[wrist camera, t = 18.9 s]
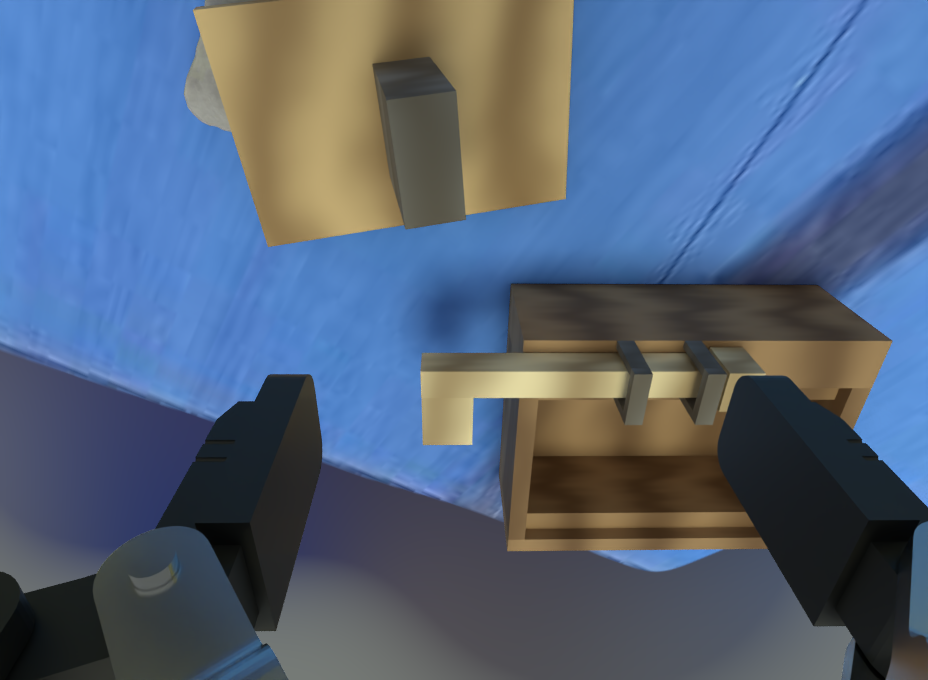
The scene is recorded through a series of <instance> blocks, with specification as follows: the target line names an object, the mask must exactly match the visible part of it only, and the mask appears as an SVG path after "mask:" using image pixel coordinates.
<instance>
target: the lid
mask: <svg viewBox="0 0 928 680" xmlns="http://www.w3.org/2000/svg"><path fill="white" fill-rule="evenodd" d="M573 8H574V0H256V1H247V2H238V3H229V4H220V5H211V6H201V7H196V8H195V9H194V10H193V12H194V15H195V18H196V21H197V25H198V28H199V31H200V34H201V37H202V40H203V44H204V47H205V50H206V53H207V56H208V59H209V62H210V66H211V69H212V72H213V75H214V78H215V81H216V84H217V88H218V91H219V94H220V97H221V100H222V103H223V106H224V110H225V113H226V116H227V119H228V122H229V125H230V128H231V132H232V135H233V138H234V141H235V144H236V147H237V150H238V154H239V157H240V160H241V163H242V166H243V169H244V172H245V176H246V179H247V182H248V185H249V188H250V191H251V194H252V198H253V201H254V204H255V207H256V210H257V213H258V216H259V220H260V223H261V226H262V229H263V232H264V235H265V238H266V242H267V245H268V247H271V246H277V245H283V244H289V243H296V242H302V241H308V240H314V239H320V238H327V237H333V236H339V235H345V234H351V233H357V232H364V231H370V230H376V229H382V228H388V227H395V226H401V225H404V226H405V229H412V228H418V227H424V226H430V225H436V224H442V223H449V222H455V221H461V220H466V215H469V214H475V213H481V212H487V211H494V210H500V209H506V208H512V207H518V206H525V205H531V204H537V203H543V202H549V201H556V200H562V199H566V177H567V153H568V129H569V105H570V81H571V57H572V32H573Z"/></svg>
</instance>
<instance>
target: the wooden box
mask: <svg viewBox="0 0 928 680" xmlns="http://www.w3.org/2000/svg"><path fill="white" fill-rule="evenodd" d="M891 343H892V340H891V339H889V338H888V337H886V336H885V335H884V334H882V333H881V332H880V331H878V330H877V329H876V328H874V327H873V326H872V325H870V324H869V323H868V322H866V321H865V320H864V319H862V318H861V317H860V316H858V315H857V314H856V313H854V312H853V311H852V310H850V309H849V308H848V307H846V306H845V305H844V304H842V303H841V302H840V301H838V300H837V299H836V298H834V297H833V296H832V295H830V294H829V293H828V292H826V291H825V290H824V289H822V288H821V287H820V286H818V285H700V284H511V289H510V305H509V322H508V338H507V353H619V355H620V357H621V359H622V361H623V363H624V365H625V367H626V369H627V371H628V373H629V375H630V378H629V384H628V389H627V394H626V398H504V403H503V419H502V435H501V452H500V468H499V479H500V488H501V497H502V506H503V516H504V525H505V534H506V543H507V551H552V550H553V551H559V550H560V551H561V550H562V551H565V550H678V549H768V548H767V547H766V545H765V543H764V542H763V540H762V538H761V536H760V535H759V533H758V531H757V530H756V528H755V526H754V525H753V523H752V521H751V520H750V518H749V516H748V515H747V513H746V511H745V509H744V508H743V506H742V504H741V503H740V501H739V499H738V498H737V496H736V494H735V493H734V491H733V489H732V487H731V486H730V484H729V482H728V481H727V479H726V477H725V476H724V474H723V472H722V470H721V467H720V464H719V460H718V452H717V447H718V439H719V436H720V432H721V429H722V426H723V422H724V419H725V416H726V413H727V412H719V411H718V410H717V408H718V404H719V401H720V398H721V394H722V391H723V387H724V384H725V380H726V377H727V373H726V372H725V371H724V370H723V368H722V367H721V366H720V364H719V363H718V362H717V360H716V359H715V358H714V356H713V355H712V354H711V353H710V351H709V349H710V347H743V348H744V349H745V350H746V351H747V352H748V353H749V355H750V356H751V357H752V358H753V359H754V360H755V361H756V363H757V364H758V365H759V366H760V367H761V368H762V369H763V371H764V372H765V373H766V375H783V376H787V377H788V378H790V379H791V380H792V381H793V382H794V383H795V385H796V386H797V387H798V388H799V389H800V390H801V391H802V392H803V393H804V394H805V395H806V396H807V398H808V399H809V400H810V401H811V402H816V403H818V404H819V405H821V406H823V407H824V408H826V409H827V410H829V411H831V412H832V413H834V414H835V415H837V416H839V417H840V418H842V419H843V420H844V421H845V422H846V423H847V424H848V425H849V426H850V427H851V428H852V429H853V428H854V426H855V424H856V421H857V419H858V417H859V415H860V412H861V410H862V408H863V406H864V404H865V401H866V399H867V397H868V395H869V392H870V390H871V388H872V386H873V384H874V381H875V379H876V377H877V375H878V372H879V370H880V368H881V366H882V363H883V361H884V359H885V357H886V355H887V352H888V350H889V348H890V346H891ZM641 353H687V355H688V356H689V357H690V359H691V360H692V362H693V363H694V365H695V366H696V368H697V369H698V370H699V372H700V373H701V375H702V379H701V383H700V387H699V391H698V394H697V398H648V396H649V391H650V387H651V382H652V378H653V373H652V372H651V370H650V368H649V366H648V364H647V363H646V361H645V359H644V357H643V355H642V354H641Z"/></svg>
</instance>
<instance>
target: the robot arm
mask: <svg viewBox="0 0 928 680" xmlns="http://www.w3.org/2000/svg"><path fill="white" fill-rule="evenodd" d="M717 452H718V460H719V464H720V467H721V470H722V472H723V474H724V476H725V477H726V479H727V481H728V482H729V484H730V486H731V487H732V489H733V491H734V493H735V494H736V496H737V498H738V499H739V501H740V503H741V504H742V506H743V508H744V509H745V511H746V513H747V515H748V516H749V518H750V520H751V521H752V523H753V525H754V526H755V528H756V530H757V531H758V533H759V535H760V536H761V538H762V540H763V542H764V543H765V545H766V547H767V548H768V550H769V552H770V553H771V555H772V557H773V558H774V560H775V562H776V563H777V565H778V567H779V569H780V570H781V572H782V574H783V575H784V577H785V579H786V580H787V582H788V584H789V585H790V587H791V588H792V590H793V592H794V594H795V596H796V597H797V599H798V600H799V602H800V604H801V605H802V607H803V609H804V611H805V612H806V614H807V616H808V617H809V619H810V621H811V623H812V624H813V626H846V627H847V628H848V630H849V632H850V633H851V635H852V636H853V637H852V639H851V641H850V643H849V644H848V646H847V648H846V652H845V658H844V664H843V672H842V678H841V680H928V507H927V506H926V505H925V504H924V503H923V502H922V501H921V500H920V499H919V498H918V497H917V496H916V495H915V494H914V493H913V492H912V491H911V490H910V489H909V487H908V486H907V485H906V484H905V483H904V482H903V481H902V480H901V479H900V478H899V477H898V476H897V475H896V474H895V473H894V472H893V471H892V470H891V469H890V468H889V467H888V466H887V465H886V464H885V463H884V462H883V460H878V455H877V454H876V453H875V452H874V451H873V450H872V449H871V448H870V447H869V446H868V445H867V444H866V443H862V439H861V438H860V437H859V436H858V434H857V433H856V432H855V431H854V430H853V429H852V428H851V427H850V426H849V425H848V424H847V423H846V422H845V421H844V420H843V419H842V418H840V417H839V416H837V415H835V414H834V413H832V412H831V411H829V410H827V409H826V408H824V407H823V406H821V405H819V404H818V403H816V402H811V401H810V400H809V399H808V398H807V396H806V395H805V394H804V393H803V392H802V391H801V390H800V389H799V388H798V387H797V386H796V385H795V383H794V382H793V381H792V380H791V379H790V378H788V377H787V376H783V375H746V376H741V377H740V378H739V379H738V380H737V382H736V384H735V386H734V389H733V393H732V396H731V399H730V403H729V406H728V409H727V413H726V416H725V419H724V422H723V426H722V429H721V432H720V436H719V439H718V447H717ZM321 462H322V438H321V430H320V423H319V416H318V409H317V401H316V394H315V387H314V382H313V378H312V376H311V375H309V374H270V375H268V376H267V378H266V379H265V381H264V383H263V385H262V387H261V389H260V392H259V394H258V396H257V398H256V400H255V401H239V402H237V403H236V404H235V405H234V406H233V407H231V408H230V409H229V410H228V411H226V412H225V413H224V414H223V415H222V416H220V417H219V418H218V419H217V420H216V422H215V424H214V426H213V427H212V429H211V431H210V433H209V434H208V436H207V438H206V440H205V444H203V445H202V447H201V449H200V450H199V452H198V454H197V456H196V461H195V462H193V463H192V465H191V466H190V468H189V470H188V472H187V474H186V475H185V477H184V479H183V481H182V482H181V484H180V486H179V488H178V489H177V491H176V493H175V495H174V496H173V498H172V500H171V502H170V504H169V506H168V507H167V509H166V511H165V512H164V514H163V516H162V518H161V520H160V521H159V523H158V525H157V527H156V528H155V529H154V530H151V531H148V532H146V533H143V534H140V535H139V536H137V537H135V538H133V539H131V540H129V541H128V542H126V543H125V544H123V545H122V546H120V547H119V548H118V549H117V550H115V551H114V552H113V553H112V554H111V555H110V556H109V557H108V558H107V559H106V561H105V562H104V563H103V564H102V566H101V567H100V569H99V571H98V572H97V574H94V575H91V576H88V577H85V578H81V579H77V580H74V581H70V582H66V583H62V584H58V585H54V586H51V587H47V588H43V589H39V590H36V591H32V592H28V593H23V592H22V590H21V588H20V586H19V585H18V583H17V581H16V580H15V579H14V578H13V577H12V576H11V575H9V574H6V573H4V572H0V680H288V678H287V676H286V674H285V672H284V670H283V669H282V667H281V665H280V663H279V661H278V659H277V657H276V656H275V654H274V652H273V651H272V649H271V648H270V646H269V645H268V644H264V645H262V643H261V642H260V640H259V638H258V636H257V634H256V632H255V631H276V629H277V625H278V621H279V618H280V615H281V611H282V607H283V603H284V600H285V597H286V593H287V589H288V586H289V582H290V578H291V575H292V571H293V567H294V564H295V560H296V557H297V553H298V550H299V546H300V542H301V539H302V535H303V532H304V528H305V524H306V520H307V517H308V514H309V510H310V506H311V503H312V499H313V495H314V492H315V488H316V484H317V481H318V477H319V474H320V469H321Z"/></svg>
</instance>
